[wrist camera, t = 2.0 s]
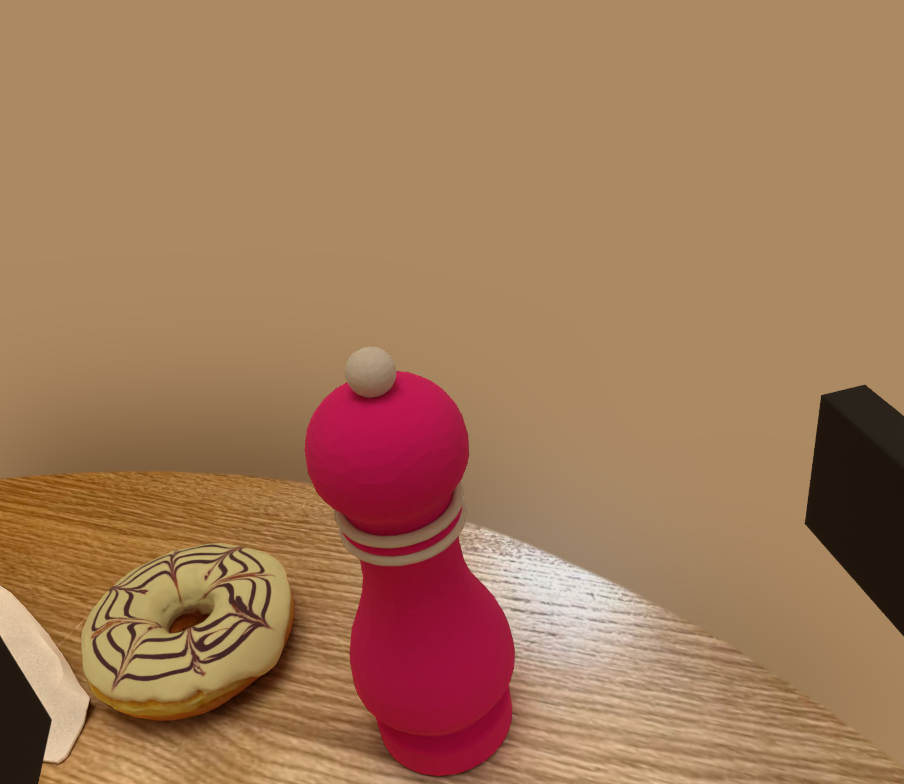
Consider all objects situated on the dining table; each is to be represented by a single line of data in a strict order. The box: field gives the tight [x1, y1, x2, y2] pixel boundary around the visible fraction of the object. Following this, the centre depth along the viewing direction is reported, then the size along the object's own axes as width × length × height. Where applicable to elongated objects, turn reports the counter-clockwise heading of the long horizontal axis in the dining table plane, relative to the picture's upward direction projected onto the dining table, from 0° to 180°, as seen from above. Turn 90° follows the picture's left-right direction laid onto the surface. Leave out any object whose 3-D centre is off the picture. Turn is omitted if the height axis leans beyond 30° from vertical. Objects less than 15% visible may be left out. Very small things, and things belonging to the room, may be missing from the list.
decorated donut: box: [81, 543, 294, 721], centre depth 44 cm, size 10×11×4 cm
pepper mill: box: [305, 347, 515, 776], centre depth 34 cm, size 7×7×20 cm
